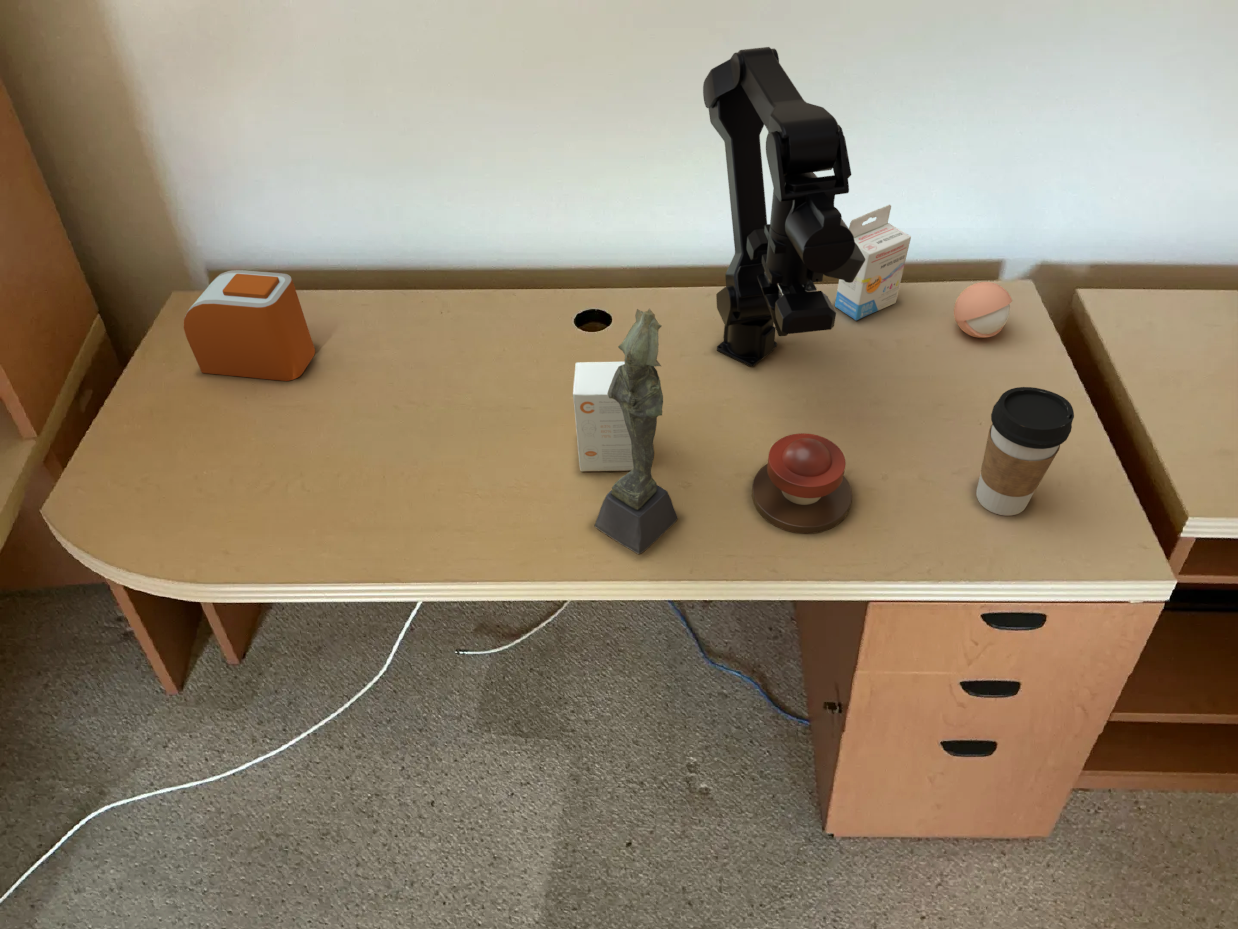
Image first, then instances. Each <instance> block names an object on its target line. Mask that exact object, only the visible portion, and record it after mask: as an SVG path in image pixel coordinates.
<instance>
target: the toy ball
mask: <svg viewBox="0 0 1238 929" xmlns="http://www.w3.org/2000/svg"><path fill="white" fill-rule="evenodd" d="M1012 302H1013V299H1012V297H1011V295H1010V293H1009V291H1007V289H1005V288H1004V287H1003V286H1001V285H1000V284H998V283H995V282H992V281H991V282H990V281H982V282H981V281H980V282H975V283H974V284H971V285H969V286H967V287H966V288H964V289H963V290H962V291H961V292H960V293H959V295H958V297H957V298H956V300H955V303H954V305H953V306H954V307H953V317H954V321H955V322H956V324H957V326H958V327H959V328H960V330H961V331H962V332H964V333H965V334H966V335H969V336H971V337H974V338H979V339H983V338H990V337H995V336H996V335H997V334H999V333H1000V332H1001V331H1002V330H1003V328H1004V326H1005V325H1006V324H1007V322H1008V320H1009V317H1010V313H1011V303H1012Z"/></svg>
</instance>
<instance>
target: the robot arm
mask: <svg viewBox="0 0 1238 929" xmlns="http://www.w3.org/2000/svg"><path fill="white" fill-rule="evenodd" d="M702 95H703V102H704V106H705V108H706V109H707V110H708V115H709V116H708V117H709V122H710V124H711V126H712V127H713V129H714V130H715V131H716V132H717V133H718V135H719V137H720V138H721V139H722V141H723V142H724V151H725V161H726V171H727V181H728V182H727V183H728V192H729V201H730V202H729V204H730V213H731V223H732V225H731V226H732V233H733V244H734V254H733V257H732V260H731V261H730V263H729V265H728V268H727V270H726V272H725V275H724V276H725V277H724V278H725V286H724V287H723V288H722V289H721V290H719V291H718V292H717V293H716V296H715V297H716V298H715V299H716V310H717V311H718V314H719V316H720V319H721V320H722V322H723V340H722V341H721V342H720V343H719V344H718V345H717V346H716V351H717V352H719V353H721V354H723V355H725V356H727V357H729V358H731V359H734V360H736V361H738V362H739V363H742V364H744V365H745V366H748V367H755V366H756V365H757V364H758V363H760V361H762V360H764V359H765V358H766V357H767V356H768V355H770V354H771V353H772V352H773V351H774V350H775V349H776V348H777V346H778V342H776V341H775V340H776V339H775V338H776V333H777V336H778V337H787V336H788V335H791V334H793V335H794V334H802V333H812V332H813V333H814V332H820V331H822V332H823V331H830V330H832V329H833V328H834V327H835V322H836V318H837V312H836V310H835V308H834V306H833V304H832V302H831V300H830V297H829V296H828V295H827V294H826V293H824V291H823V290H817V289H818V288H817V287H816V285H815V283H820V282H823V280H824V276H825V277H829V278H833V279H837V280H839V279H841V280H844V281H845V282H848V283H852V282H853V281H854V279H855V277H856V276H857V274H858V272H859V270H860V269H861V267H862V265H863V263H864V262H865V257H864V256H863V254H862V252H861V250H860V249H859V247H858V245H857V244H856V243H855V242H854V236H853V234H852V233H851V231H850V230H849V226H847V224H846V222H845V221H844V220H843V216H842V213H841V212H840V210H839V209H838V208H837V207H836V206H835V199H836V196H837V195H845V194H849V192H850V185H849V178H851V176H852V169H851V164H850V158H849V153H848V146H847V142H846V136H845V135H844V131H843V127H841V125H840V124H839V123H838V121H837V119H836V117H834V116H833V115H832V114H831V113H830V112H829V111H828V110H827V109H826V108H825V107H823V106H820V105H817V104H813V103H810V102H807V101H806V100H804V98H803V96H802V95H801V93H800V92H799V90H798V88H797V87H796V85H795V84H794V83H793V82H792V80H791V78H790V77H789V75H788V74H787V72H786V71H785V69H784V67H782V65H781V63H780V58H779V53H778V50H777V49H776V48H771V47H770V46H764V47H754V48H747V49H746V48H744V49H739V50H738V51H736V52H734V53H733V54H732V55H731V57H730V58H729V59H728V60H726V61H724V62H722V63H720V64H718V65H716V66H714V67H713V68H711V69H710V70H709V72H708V74H707V75H706V76H705V78H704V81H703V85H702ZM764 127H765V128H766V130H767V135H766V138H765V154H766V160H767V164H768V168H769V175H770V178H771V182H772V188H773V190H772V201H771V211H770V221H769V223H768V216H767V205H766V194H765V193H766V192H765V183H764V182H765V181H764V171H763V159H762V147H761V133H762V131H763V128H764ZM832 170H833V175H826V176H825V175H824V176H817V175H816V173H818V172H826V171H832Z"/></svg>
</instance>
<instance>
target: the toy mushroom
mask: <svg viewBox="0 0 1238 929" xmlns="http://www.w3.org/2000/svg"><path fill="white" fill-rule="evenodd" d="M846 462H847V461H846V458H845V455H844V453H843V451H842V450H841V449H840V446H838V445H837V444H836V443H834V442H833V441H832V440H830V439H828V438H826V437H823V436H821V435H818V434H813V433H805V432H804V433H802V432H800V433H799V432H798V433H792V434H788V435H785V436H783V437H781V438H780V439H777V440H776V441H775V442H774V443H773V445H772V446H771V447H770V449H769V452H768V457H767V462H766V463H765V465H763V466H762V467H760V469H759V470H758V471H757V473H755V476H754V477H753V481H752V486H751V499H752V502H753V505H754V507H755V509H756V511H757V512H758V514H759V515H760V516H761V517H762V518H763V519H764V520H765V521H767V522H768V523H770V524H771V525H773V526H775V527H777V528H778V529H781V530H784V531H787V532H791V533H795V534H817V533H821V532H826V531H828V530H831V529H832V528H834V527H836V526H838V525H839V524H840V523H842V521H844V519H845V518H846V517H847V516H848V514H849V512H850V509H851V505H852V500H853V491H852V487H851V484H850V482H849V480H848V479H847V478H846V476H845V470H846V466H847V465H846V464H847V463H846Z"/></svg>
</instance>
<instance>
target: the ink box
mask: <svg viewBox="0 0 1238 929" xmlns="http://www.w3.org/2000/svg"><path fill="white" fill-rule="evenodd" d="M891 210H892V205H891V204H887V205H885V206H883V207H880V208H877V209H874V210H872V211H870V212H867V213H865V214H862V215H860V216H858V217H855V218H853V219H851V220H850V221H849V222H850V223H849V226H848V228H849V230H850V231H851V233H852V234H853V236H854V242H855V243H856V244H857V245H858V247H859V249H860V250H861V252H862V254H863V256H864V257H865V262H864V263H863V265H862V267H861V269H860V270H859V272H858V274H857V276H856V277H855V279H854V281H853V282H852V283H848V282H845V281H844V280H841V279H838V283H837V290H836V296H835V302H834V307H835V308H837V309H838V310H840V312H843V313H844V314H846V315H847V316H848V317H850V318H852V319H853V320H854V321H859V320H861V319H863V318H865V317H867V316H870V315H871V314H874V313H877V312H879V311H881V310H883V309H886V308H888V307H890V306H893V305H894V304H896V303H897V300H898V295H899V291H900V287H901V282H902V277H903V274H904V269H905V264H906V261H907V256H908V251H909V248H910V243H911V239H912V236H911V235H909V234H908V233H906V232H904V231H903V230H901V229H899V228H898V227H896V226H894V225H893V224H892V223H890V222H889V219H890V215H891ZM870 218H871V219H874V218H875V220H873V221H870V222H867V221H868V220H869V219H870ZM866 222H867V223H866ZM863 223H865V224H863Z"/></svg>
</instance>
